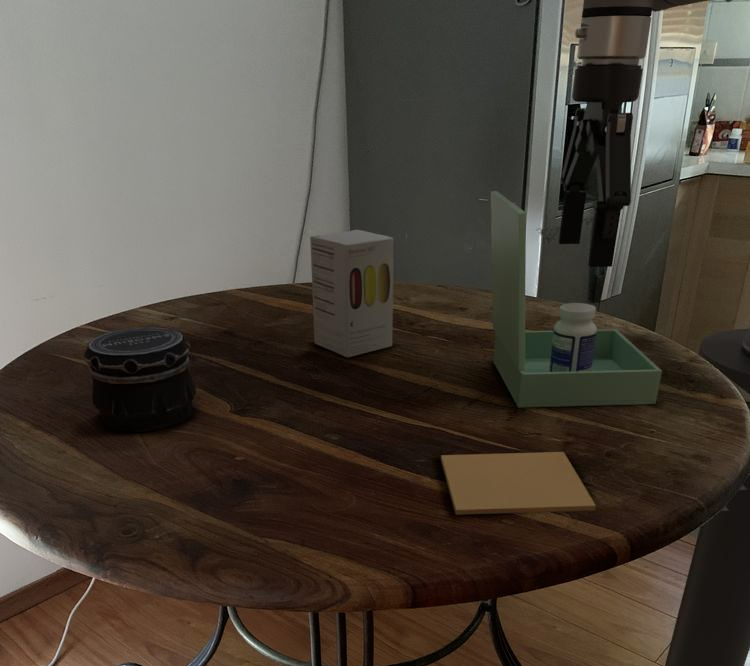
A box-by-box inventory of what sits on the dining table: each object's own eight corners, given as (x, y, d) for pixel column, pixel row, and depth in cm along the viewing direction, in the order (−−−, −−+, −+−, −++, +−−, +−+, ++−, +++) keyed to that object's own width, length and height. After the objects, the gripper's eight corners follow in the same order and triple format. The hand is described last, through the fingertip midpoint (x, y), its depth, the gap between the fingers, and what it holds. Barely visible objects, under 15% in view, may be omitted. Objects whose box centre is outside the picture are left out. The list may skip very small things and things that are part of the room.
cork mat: (563, 456, 83) (563, 451, 83) (595, 510, 73) (595, 505, 73) (440, 459, 83) (440, 455, 83) (455, 515, 73) (455, 509, 72)
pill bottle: (585, 370, 106) (595, 301, 101) (594, 384, 101) (605, 312, 96) (545, 370, 106) (552, 301, 101) (552, 384, 101) (560, 312, 96)
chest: (611, 358, 112) (616, 329, 109) (655, 404, 96) (662, 370, 94) (493, 361, 111) (495, 331, 109) (518, 407, 96) (521, 374, 93)
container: (153, 389, 102) (141, 318, 97) (219, 409, 96) (210, 334, 91) (75, 420, 93) (57, 344, 88) (143, 444, 87) (128, 364, 82)
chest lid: (496, 190, 99) (490, 191, 99) (526, 212, 83) (519, 213, 83) (498, 328, 108) (492, 329, 108) (524, 370, 93) (518, 371, 93)
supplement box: (346, 359, 112) (343, 244, 104) (312, 344, 119) (306, 235, 110) (394, 346, 118) (395, 236, 109) (359, 332, 124) (357, 227, 115)
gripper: (549, 64, 95) (532, 235, 105) (612, 61, 73) (583, 277, 84) (606, 63, 95) (583, 235, 106) (686, 61, 73) (647, 276, 84)
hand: (583, 254), depth 95 cm, fingers open, 13 cm apart
